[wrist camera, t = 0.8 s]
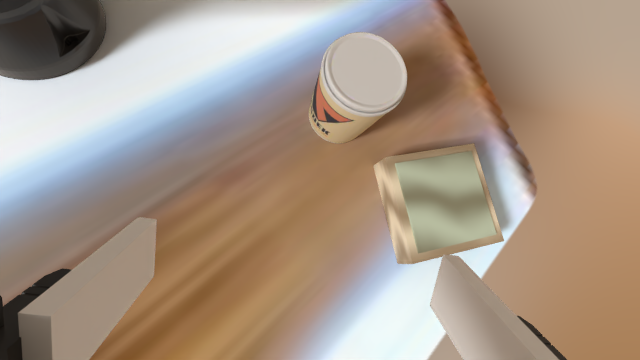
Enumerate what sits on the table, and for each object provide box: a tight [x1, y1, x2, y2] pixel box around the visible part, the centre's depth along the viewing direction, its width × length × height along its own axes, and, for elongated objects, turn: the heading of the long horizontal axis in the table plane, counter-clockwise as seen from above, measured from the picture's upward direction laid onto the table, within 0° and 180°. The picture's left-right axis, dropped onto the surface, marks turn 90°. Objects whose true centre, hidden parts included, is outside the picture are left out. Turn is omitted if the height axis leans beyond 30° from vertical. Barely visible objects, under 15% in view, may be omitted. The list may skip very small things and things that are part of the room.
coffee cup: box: [309, 32, 407, 143], centre depth 41 cm, size 9×9×12 cm
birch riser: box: [374, 143, 504, 264], centre depth 44 cm, size 13×13×4 cm
